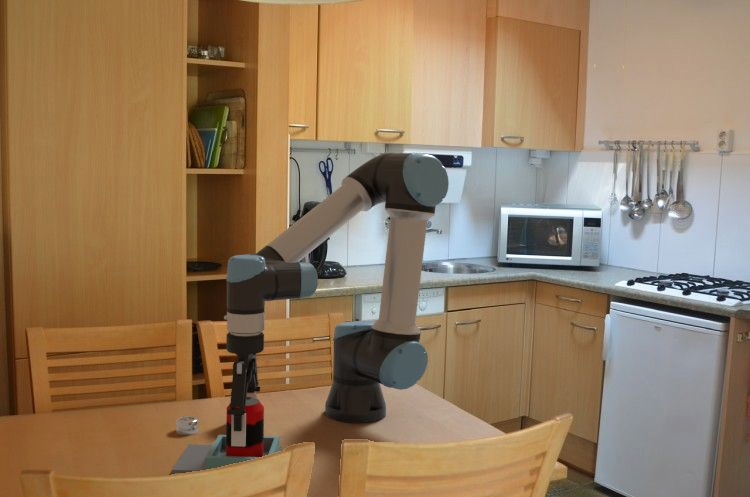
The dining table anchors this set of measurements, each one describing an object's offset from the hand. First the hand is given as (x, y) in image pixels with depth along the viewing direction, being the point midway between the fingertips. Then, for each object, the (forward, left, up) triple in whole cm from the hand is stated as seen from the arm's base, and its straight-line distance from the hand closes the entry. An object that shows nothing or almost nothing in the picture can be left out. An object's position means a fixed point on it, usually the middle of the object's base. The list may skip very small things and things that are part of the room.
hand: (244, 433), depth 162 cm
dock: (+3, 0, -6) cm, 7 cm away
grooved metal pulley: (+16, -18, -7) cm, 25 cm away
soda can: (0, 0, -5) cm, 5 cm away
